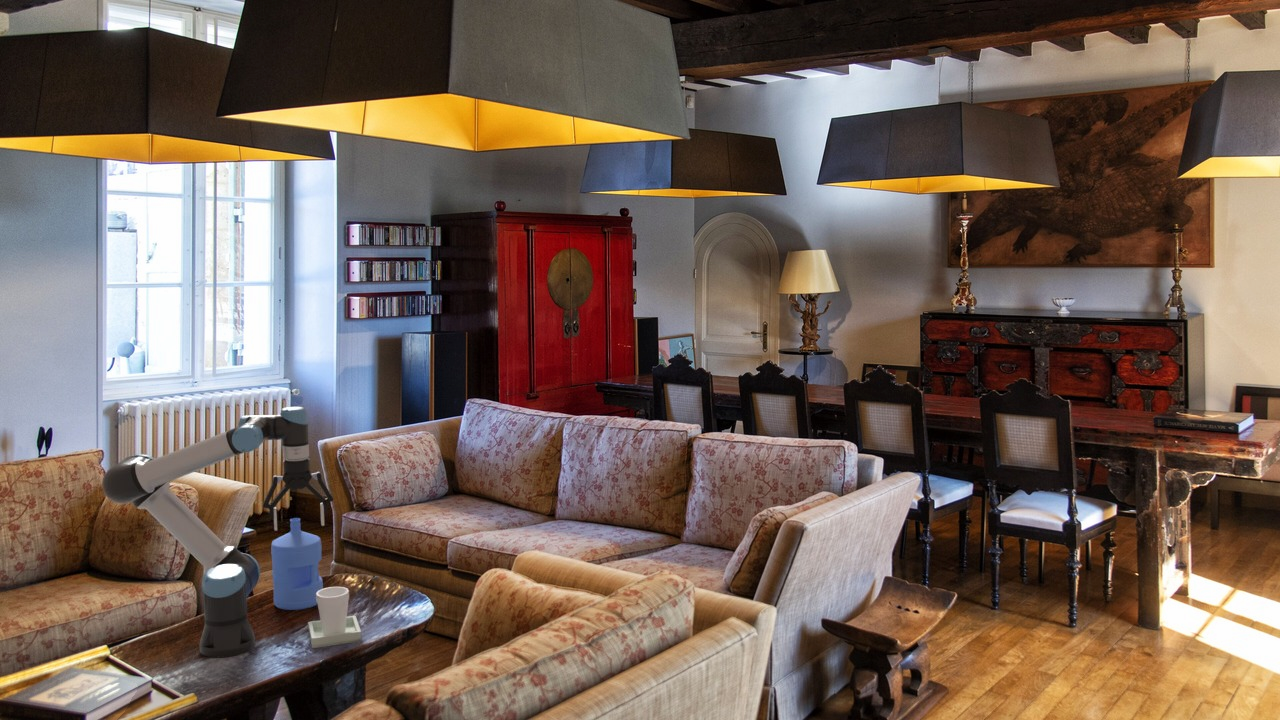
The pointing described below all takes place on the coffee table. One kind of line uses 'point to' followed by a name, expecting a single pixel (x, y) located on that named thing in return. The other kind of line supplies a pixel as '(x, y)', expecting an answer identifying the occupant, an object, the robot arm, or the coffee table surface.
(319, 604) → the foam cup
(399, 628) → the coffee table surface
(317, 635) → the tray
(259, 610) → the coffee table surface
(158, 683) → the coffee table surface
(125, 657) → the coffee table surface
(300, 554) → the water jug
